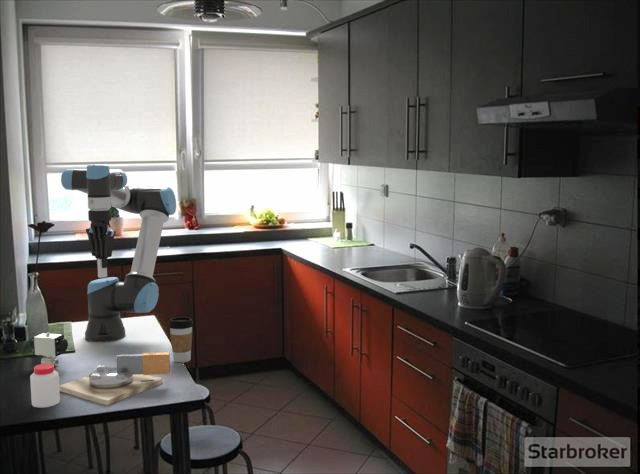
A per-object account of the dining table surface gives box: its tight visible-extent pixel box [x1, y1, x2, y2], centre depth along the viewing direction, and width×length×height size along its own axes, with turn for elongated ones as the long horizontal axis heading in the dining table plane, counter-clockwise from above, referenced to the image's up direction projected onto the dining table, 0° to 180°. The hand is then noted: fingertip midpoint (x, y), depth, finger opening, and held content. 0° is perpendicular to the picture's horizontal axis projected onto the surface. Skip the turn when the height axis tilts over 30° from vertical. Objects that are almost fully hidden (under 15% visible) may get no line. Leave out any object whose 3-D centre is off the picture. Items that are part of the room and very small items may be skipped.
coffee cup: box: [168, 316, 194, 363], centre depth 232 cm, size 8×8×15 cm
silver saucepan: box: [88, 352, 171, 389], centre depth 207 cm, size 24×13×8 cm, turn 96°
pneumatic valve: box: [29, 332, 69, 367], centre depth 225 cm, size 6×12×12 cm, turn 78°
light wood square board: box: [59, 365, 164, 406], centre depth 207 cm, size 22×22×2 cm
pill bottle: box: [29, 363, 61, 409], centre depth 193 cm, size 8×8×11 cm
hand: (102, 276), depth 231 cm, fingers closed
